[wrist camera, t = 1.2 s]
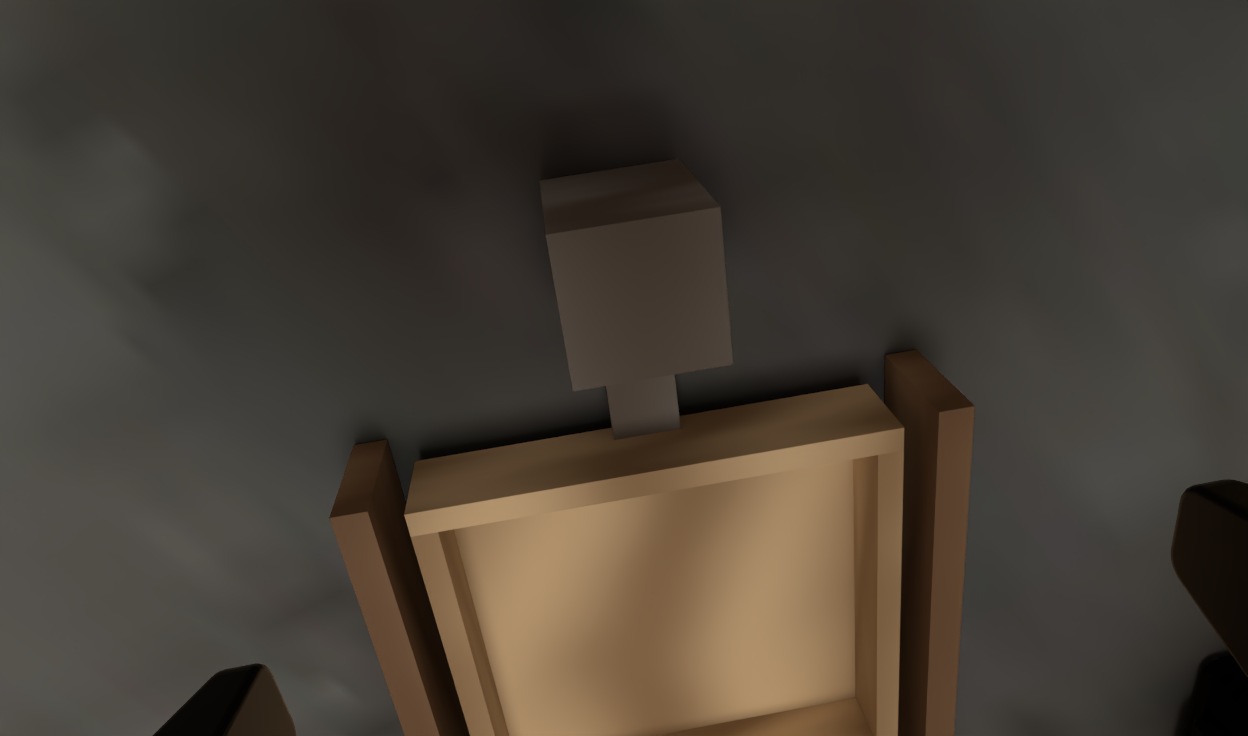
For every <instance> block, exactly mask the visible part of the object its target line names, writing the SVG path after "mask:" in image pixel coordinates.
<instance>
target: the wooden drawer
mask: <svg viewBox="0 0 1248 736" xmlns="http://www.w3.org/2000/svg"><path fill="white" fill-rule="evenodd" d="M539 181H540V190H541V199H542V208H543V217H544V226H545V235H546V241H547V247H548V252H549V258H550V264H551V269H552V275H553V281H554V286H555V292H556V298H557V303H558V309H559V315H560V320H561V326H562V332H563V337H564V343H565V349H566V354H567V360H568V366H569V371H570V377H571V383H572V388H573V391H579V390H585V389H591V388H597V387H603V386H605V387H606V394H607V400H608V407H609V413H610V419H611V426H612V428H607V429H601V430H595V431H589V432H584V433H578V434H572V435H566V436H560V437H554V438H549V439H543V440H537V441H531V442H525V443H519V444H513V445H508V446H502V447H496V448H490V449H484V450H478V451H473V452H467V453H461V454H455V455H449V456H443V457H438V458H432V459H426V460H420V461H415V464H414V468H413V473H412V478H411V483H410V488H409V493H408V498H407V503H406V508H405V513H404V516H405V520H406V523H407V526H408V530H409V533H410V536H411V540H412V543H413V546H414V550H415V553H416V556H417V560H418V563H419V566H420V570H421V573H422V576H423V580H424V583H425V586H426V590H427V593H428V596H429V600H430V603H431V607H432V610H433V613H434V617H435V620H436V623H437V627H438V630H439V633H440V637H441V640H442V643H443V647H444V650H445V653H446V657H447V660H448V663H449V667H450V670H451V673H452V677H453V680H454V683H455V687H456V690H457V693H458V697H459V700H460V704H461V707H462V710H463V714H464V717H465V720H466V724H467V727H468V730H469V734H470V736H898V700H899V654H900V607H901V561H902V515H903V468H904V427H903V425H902V424H901V423H900V422H899V421H898V419H897V418H896V417H895V416H894V415H893V414H892V412H891V411H890V410H889V409H888V408H887V406H886V405H885V404H884V403H883V402H882V400H881V399H880V398H879V397H878V396H877V395H876V393H875V392H874V391H873V390H872V389H871V387H870V386H869V385H868V384H864V385H858V386H852V387H846V388H841V389H835V390H829V391H823V392H817V393H811V394H806V395H800V396H794V397H788V398H782V399H776V400H770V401H765V402H759V403H753V404H747V405H741V406H735V407H730V408H724V409H718V410H712V411H706V412H700V413H695V414H689V415H683V416H679V409H678V400H677V392H676V383H675V374H680V373H686V372H692V371H698V370H704V369H710V368H716V367H722V366H728V365H733V356H732V344H731V331H730V319H729V306H728V294H727V281H726V268H725V256H724V243H723V231H722V218H721V207H720V206H719V204H718V203H717V202H716V201H715V200H714V199H713V197H712V196H711V195H710V194H709V193H708V192H707V190H706V189H705V188H704V187H703V186H702V184H701V183H700V182H699V181H698V180H697V179H696V177H695V176H694V175H693V174H692V173H691V172H690V170H689V169H688V168H687V167H686V166H685V164H684V163H683V162H682V161H681V160H680V159H674V160H667V161H661V162H654V163H648V164H642V165H635V166H629V167H622V168H616V169H610V170H603V171H597V172H590V173H584V174H578V175H571V176H565V177H558V178H552V179H546V180H539Z"/></svg>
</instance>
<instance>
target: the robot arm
mask: <svg viewBox="0 0 1248 736" xmlns="http://www.w3.org/2000/svg"><path fill="white" fill-rule="evenodd" d="M1171 561H1172V564H1173V568H1174V570H1175V572H1176V575H1177V576H1178V578H1179V580H1180V581H1181V583H1182V584H1183V586H1184V587H1185V589H1186V590H1187V591H1188V593H1189V594H1190V596H1191V597H1192V599H1193V600H1194V601H1195V603H1196V604H1197V606H1198V607H1199V609H1200V610H1201V611H1202V613H1203V614H1204V616H1205V617H1206V619H1207V620H1208V622H1209V623H1210V624H1211V626H1212V627H1213V629H1214V630H1215V632H1216V633H1217V634H1218V636H1219V637H1220V639H1221V640H1222V642H1223V643H1224V644H1225V646H1226V647H1227V649H1228V650H1229V652H1230V653H1231V655H1232V656H1228V657H1223V658H1219V659H1216V660H1213V661H1212V662H1210V663H1208V664H1207V665H1206V666H1205V668H1204V669H1203V671H1202V675H1201V679H1200V683H1199V687H1198V692H1197V696H1196V700H1195V704H1194V708H1193V713H1192V717H1191V721H1190V725H1189V729H1188V734H1187V736H1248V484H1246V483H1243V482H1240V481H1236V480H1219V481H1214V482H1208V483H1203V484H1198V485H1194V486H1191V487H1189V488H1187V489H1186V491H1185V492H1184V493H1183V495H1182V496H1181V499H1180V504H1179V509H1178V515H1177V520H1176V525H1175V531H1174V536H1173V541H1172V547H1171ZM153 736H296V731H295V726H294V723H293V720H292V718H291V716H290V713H289V711H288V709H287V707H286V704H285V702H284V700H283V698H282V695H281V693H280V691H279V689H278V686H277V684H276V682H275V680H274V677H273V675H272V673H271V672H270V670H269V669H268V668H267V667H266V666H265V665H263V664H251V665H246V666H240V667H235V668H230V669H225V670H222V671H219V672H218V673H216V674H215V675H214V676H213V677H211V678H210V679H209V680H208V681H207V682H206V683H205V684H204V685H203V686H202V687H201V688H200V689H199V690H198V691H197V692H196V693H195V694H194V695H193V696H192V697H191V698H190V699H189V700H188V701H187V702H186V703H185V704H184V705H183V706H182V707H181V708H180V709H179V710H178V711H177V712H176V713H175V714H174V715H173V716H172V717H171V718H170V719H169V720H168V721H167V722H166V723H165V724H164V725H163V726H162V727H161V728H160V729H159V730H158V731H157V732H156V733H155V734H154V735H153Z"/></svg>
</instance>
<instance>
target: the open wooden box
mask: <svg viewBox="0 0 1248 736" xmlns="http://www.w3.org/2000/svg"><path fill="white" fill-rule="evenodd" d="M884 404H885V405H886V406H887V408H888V409H889V410H890V411H891V412H892V414H893V415H894V416H895V417H896V418H897V419H898V421H899V422H900V423H901V424H902V425H903V427H904V468H903V515H902V561H901V607H900V654H899V700H898V736H954V726H955V710H956V695H957V679H958V663H959V648H960V632H961V616H962V600H963V585H964V569H965V553H966V538H967V522H968V506H969V491H970V475H971V459H972V443H973V428H974V412H975V406H974V405H973V404H972V403H971V402H970V401H969V400H968V399H967V398H966V397H965V396H964V395H963V394H962V393H961V392H960V391H959V390H958V389H957V388H955V387H954V386H953V385H952V384H951V383H950V382H949V381H948V380H947V379H946V378H945V377H944V376H943V375H942V374H941V373H940V372H939V371H938V370H937V369H936V368H935V367H934V366H933V365H931V364H930V363H929V362H928V361H927V360H926V359H925V358H924V357H923V356H922V355H921V354H920V353H919V352H918V351H917V350H912V351H906V352H900V353H894V354H888V355H885V399H884ZM405 508H406V502H405V499H404V495H403V492H402V488H401V485H400V482H399V478H398V475H397V471H396V468H395V465H394V461H393V458H392V455H391V451H390V448H389V444H388V441H387V440H381V441H375V442H369V443H364V444H358V445H354V446H353V449H352V452H351V455H350V458H349V461H348V464H347V467H346V470H345V473H344V476H343V479H342V482H341V485H340V488H339V491H338V494H337V497H336V500H335V503H334V506H333V509H332V512H331V515H330V518H329V519H330V522H331V524H332V527H333V530H334V533H335V536H336V539H337V542H338V545H339V547H340V550H341V553H342V556H343V559H344V562H345V565H346V568H347V570H348V573H349V576H350V579H351V582H352V585H353V588H354V591H355V594H356V596H357V599H358V602H359V605H360V608H361V611H362V614H363V617H364V619H365V622H366V625H367V628H368V631H369V634H370V637H371V640H372V642H373V645H374V648H375V651H376V654H377V657H378V660H379V663H380V665H381V668H382V671H383V674H384V677H385V680H386V683H387V686H388V688H389V691H390V694H391V697H392V700H393V703H394V706H395V709H396V711H397V714H398V717H399V720H400V723H401V726H402V729H403V732H404V734H405V736H470V734H469V730H468V727H467V724H466V720H465V717H464V714H463V710H462V707H461V704H460V700H459V697H458V693H457V690H456V687H455V683H454V680H453V677H452V673H451V670H450V667H449V663H448V660H447V657H446V653H445V650H444V647H443V643H442V640H441V637H440V633H439V630H438V627H437V623H436V620H435V617H434V613H433V610H432V607H431V603H430V600H429V596H428V593H427V590H426V586H425V583H424V580H423V576H422V573H421V570H420V566H419V563H418V560H417V556H416V553H415V550H414V546H413V543H412V540H411V536H410V533H409V530H408V526H407V523H406V520H405V516H404V513H405Z"/></svg>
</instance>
